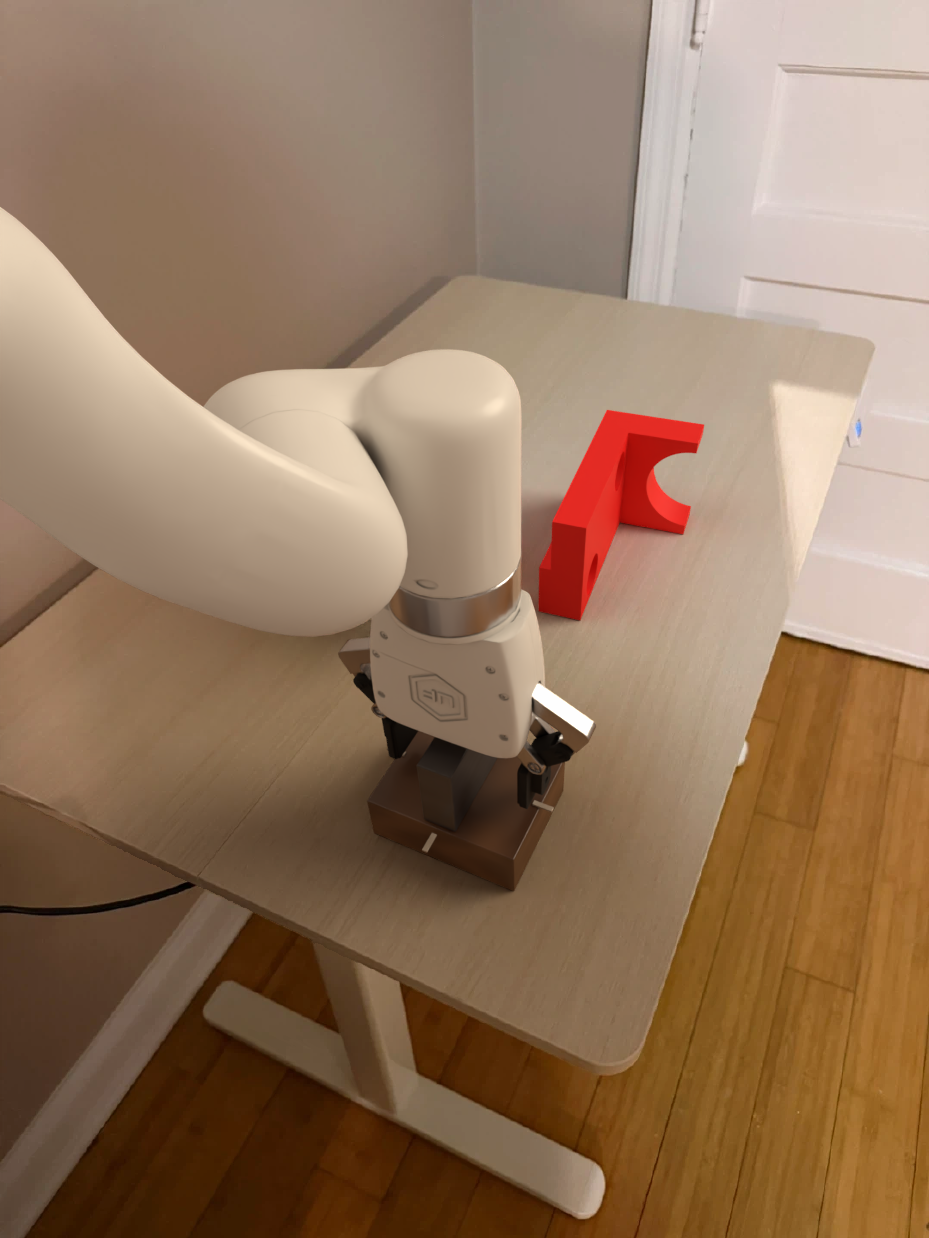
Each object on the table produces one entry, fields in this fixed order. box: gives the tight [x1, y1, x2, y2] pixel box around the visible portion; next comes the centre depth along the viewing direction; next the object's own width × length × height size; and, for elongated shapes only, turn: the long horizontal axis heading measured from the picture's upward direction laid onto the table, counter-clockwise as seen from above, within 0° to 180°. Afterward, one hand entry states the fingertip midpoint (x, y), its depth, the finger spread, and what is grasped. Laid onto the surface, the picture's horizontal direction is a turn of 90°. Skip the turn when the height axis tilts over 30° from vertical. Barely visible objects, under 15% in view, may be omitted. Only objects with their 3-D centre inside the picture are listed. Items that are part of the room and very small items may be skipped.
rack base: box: [366, 731, 566, 892], centre depth 63 cm, size 13×13×4 cm
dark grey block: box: [417, 737, 497, 832], centre depth 59 cm, size 8×2×6 cm, turn 154°
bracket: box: [537, 409, 705, 621], centre depth 80 cm, size 18×10×10 cm
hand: (466, 766), depth 61 cm, fingers open, 9 cm apart
